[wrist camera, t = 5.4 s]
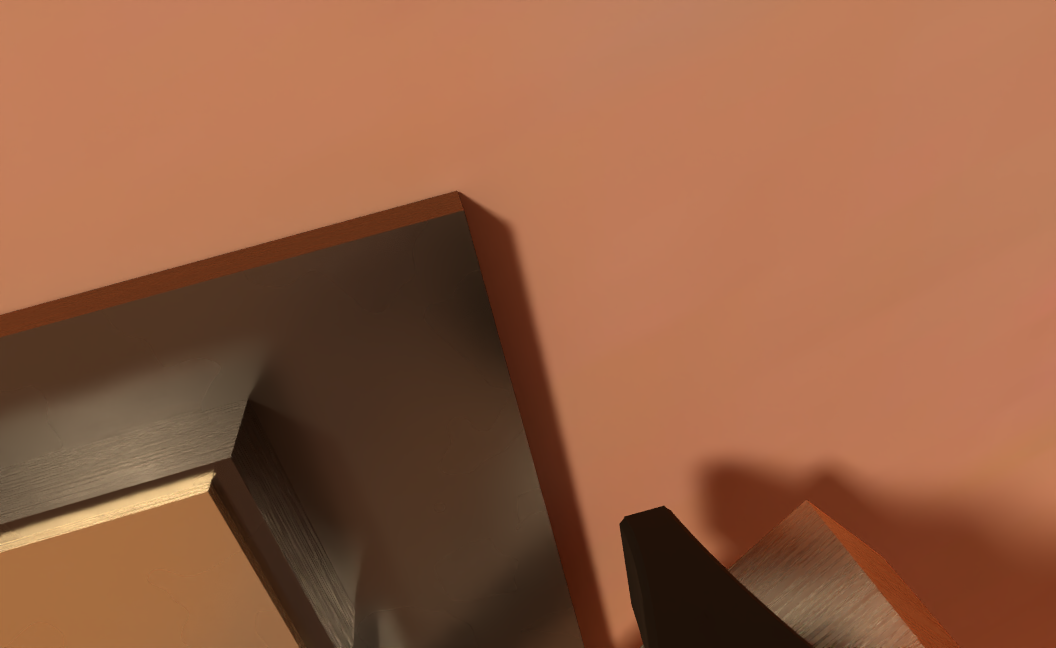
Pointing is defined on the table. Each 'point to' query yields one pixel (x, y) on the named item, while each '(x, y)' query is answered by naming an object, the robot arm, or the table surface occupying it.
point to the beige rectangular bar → (835, 587)
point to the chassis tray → (276, 455)
